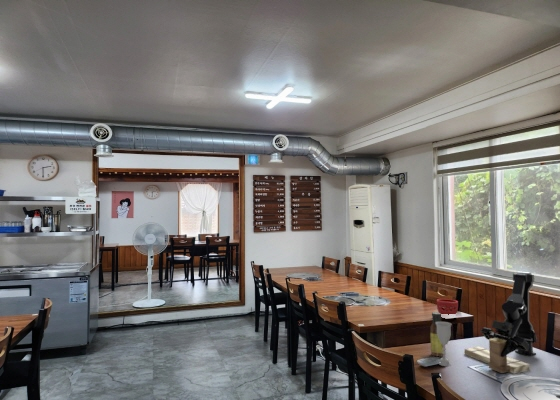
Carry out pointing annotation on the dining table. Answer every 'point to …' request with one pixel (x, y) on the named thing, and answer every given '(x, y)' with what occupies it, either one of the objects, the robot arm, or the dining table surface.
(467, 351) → the board
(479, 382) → the dining table surface
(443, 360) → the chalice
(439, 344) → the sauce bottle
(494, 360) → the tan pillar on plinth
